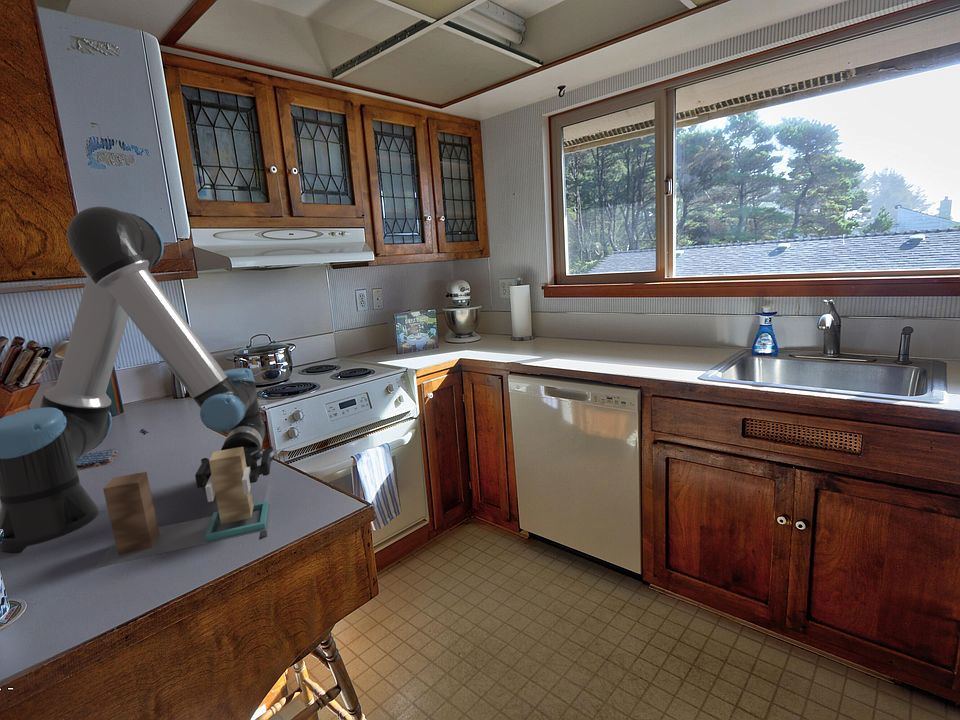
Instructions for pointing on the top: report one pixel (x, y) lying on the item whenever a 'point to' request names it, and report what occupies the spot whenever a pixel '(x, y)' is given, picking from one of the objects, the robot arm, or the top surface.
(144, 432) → the chef's knife
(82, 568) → the top surface
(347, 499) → the top surface
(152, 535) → the walnut pillar
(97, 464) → the woven mat
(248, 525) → the build plate
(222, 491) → the oak pillar
